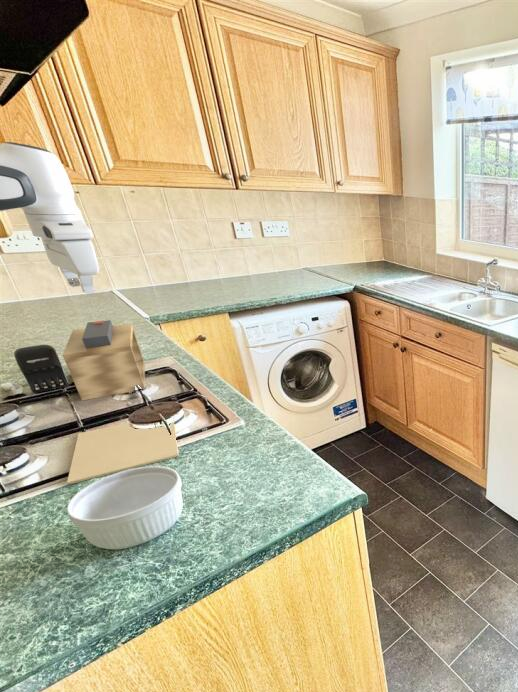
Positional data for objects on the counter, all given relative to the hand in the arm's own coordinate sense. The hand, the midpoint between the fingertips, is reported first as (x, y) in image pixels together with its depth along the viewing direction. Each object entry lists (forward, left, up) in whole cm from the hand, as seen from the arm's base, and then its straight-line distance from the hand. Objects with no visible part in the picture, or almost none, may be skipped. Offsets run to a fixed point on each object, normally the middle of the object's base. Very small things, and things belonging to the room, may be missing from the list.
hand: (82, 289), depth 99 cm
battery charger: (-13, +5, -26) cm, 29 cm away
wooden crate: (-1, +5, -25) cm, 26 cm away
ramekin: (+4, -64, -26) cm, 69 cm away
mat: (+2, -35, -25) cm, 44 cm away
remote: (-1, +5, -13) cm, 14 cm away
